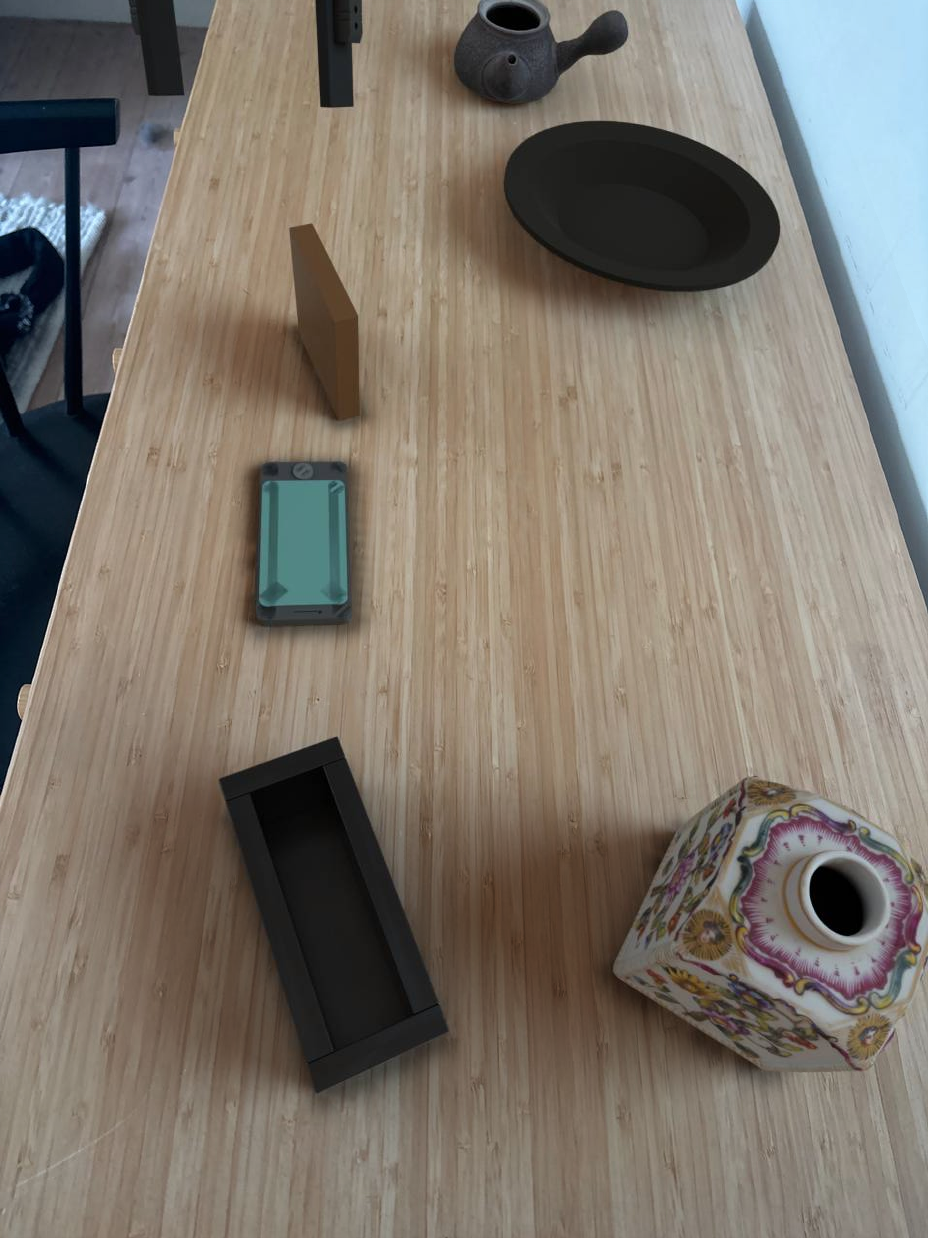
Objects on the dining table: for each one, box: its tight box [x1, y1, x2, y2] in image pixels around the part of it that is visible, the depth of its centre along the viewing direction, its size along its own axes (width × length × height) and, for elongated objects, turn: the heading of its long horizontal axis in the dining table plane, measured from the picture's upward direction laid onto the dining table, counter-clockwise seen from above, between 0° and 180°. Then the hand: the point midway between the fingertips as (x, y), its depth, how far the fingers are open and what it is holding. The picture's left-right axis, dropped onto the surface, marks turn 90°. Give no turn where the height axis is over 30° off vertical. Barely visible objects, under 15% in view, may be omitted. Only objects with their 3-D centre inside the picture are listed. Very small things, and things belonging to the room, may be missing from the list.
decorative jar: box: [612, 775, 928, 1073], centre depth 51 cm, size 12×12×18 cm
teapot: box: [453, 0, 629, 104], centre depth 98 cm, size 19×15×10 cm
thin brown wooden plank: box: [288, 222, 361, 421], centre depth 74 cm, size 11×2×12 cm, turn 23°
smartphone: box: [254, 461, 353, 627], centre depth 70 cm, size 7×1×15 cm
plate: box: [503, 120, 781, 293], centre depth 88 cm, size 28×24×6 cm
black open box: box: [218, 735, 450, 1095], centre depth 53 cm, size 18×8×9 cm, turn 23°
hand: (248, 101), depth 57 cm, fingers open, 13 cm apart
